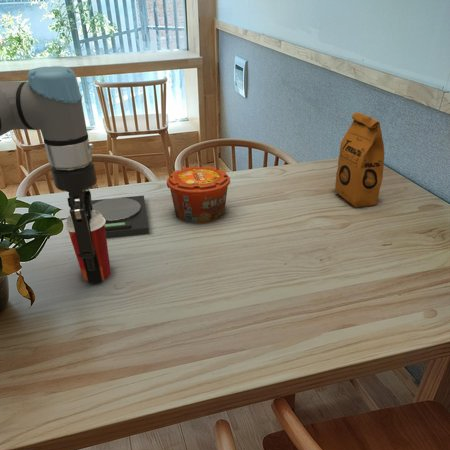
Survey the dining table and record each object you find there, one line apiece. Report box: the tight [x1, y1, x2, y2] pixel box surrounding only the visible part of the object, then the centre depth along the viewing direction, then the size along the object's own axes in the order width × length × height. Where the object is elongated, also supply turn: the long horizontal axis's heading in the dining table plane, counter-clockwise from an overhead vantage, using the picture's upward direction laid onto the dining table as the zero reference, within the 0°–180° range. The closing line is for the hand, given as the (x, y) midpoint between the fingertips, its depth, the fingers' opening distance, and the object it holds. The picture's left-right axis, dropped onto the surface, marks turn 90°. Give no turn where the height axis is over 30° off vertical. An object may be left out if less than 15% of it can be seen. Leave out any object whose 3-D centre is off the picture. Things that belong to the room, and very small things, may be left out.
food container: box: [166, 165, 231, 224], centre depth 115 cm, size 16×16×11 cm
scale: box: [91, 195, 150, 239], centre depth 115 cm, size 16×20×3 cm
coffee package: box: [334, 111, 385, 208], centre depth 119 cm, size 10×12×22 cm
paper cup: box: [64, 210, 111, 282], centre depth 91 cm, size 8×8×14 cm
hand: (96, 271), depth 94 cm, fingers closed on paper cup, 7 cm apart
